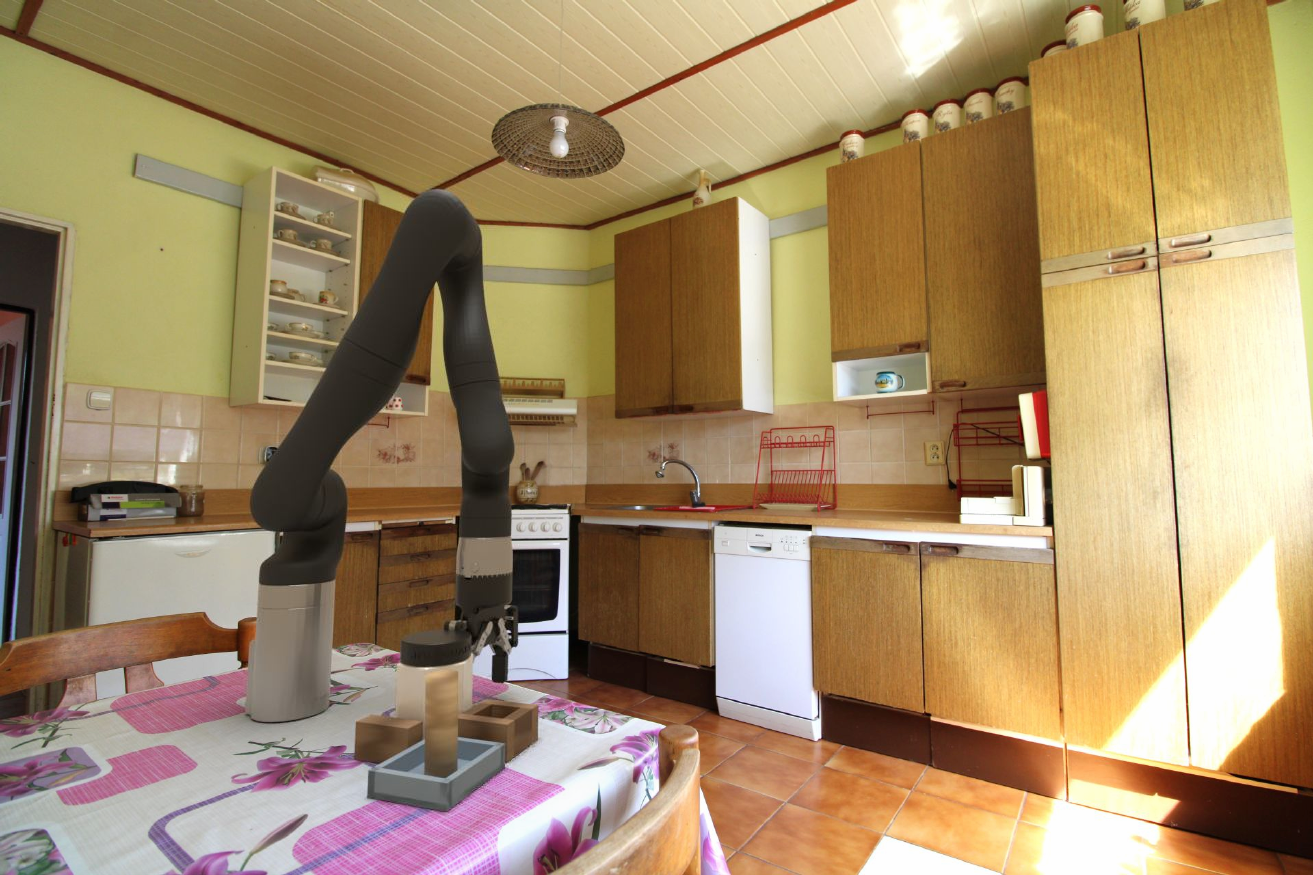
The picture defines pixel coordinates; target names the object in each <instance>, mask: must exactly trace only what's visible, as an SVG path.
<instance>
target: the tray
mask: <svg viewBox="0 0 1313 875" xmlns="http://www.w3.org/2000/svg"><path fill="white" fill-rule="evenodd" d="M424 758H425V739H424V740H422V741H421V742H419V743H417V744H415V745H413V746H411V747H410V748H408V749H406V750H404V751H402V752H401V753H399V754H397V755H395V756H393V757H391V758H390V759H388V760H386V761H384V762H382V763H378V764H377V765H375V766H374V767H371V768H370V769H368V771H367V787H366V788H367V792H366V793H367V794H366V798H369V799H373V800H378V801H384V802H390V803H396V804H402V805H406V806H413V807H418V808H424V809H428V810H434V811H439V812H446V813H447V812H448V811H449V810H451V809H452V808H454V807H455V806H456V805H458V804H459V803H460V802H462V801H463V800H464V799H466V798H467V797H468V796H469V795H471V794H472V793H474V791H476V790H478V789H479V788H481V786H483V785H484V784H485V783H487V782H488V781H489V780H491V779H492V778H493V777H495V776H496V775H497V774H499V773H500V772H501V771H503V770H505V768H506V763H505V743H498V742H490V741H483V740H476V739H469V738H461V737H458V769H457V771H456V772H454V773H453V774H451V775H450V776H448V777H447V778H439V777H433V776H427V775H424Z"/></svg>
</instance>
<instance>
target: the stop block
mask: <svg viewBox="0 0 1313 875" xmlns="http://www.w3.org/2000/svg"><path fill="white" fill-rule="evenodd" d="M354 728H355V732H354V734H355V735H354V751H353V752H354V757H353V760H358V761H363V762H369V763H370V762H371V763H377V764H381V763H382V762H384V761H386V760H388V759H390V758H391V757H393V756H395V755H397V754H399V753H401V752H402V751H404V750H406V749H408V748H410V747H411V746H413V745H415V744H417V743H419V742H421V741H422V732H423V721H417V720H410V719H402V718H395V716H386V715H378V714H370V715H367V716H365V717H363V718H361V719H358V720H356V721H355V727H354Z"/></svg>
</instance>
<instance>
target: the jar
mask: <svg viewBox="0 0 1313 875" xmlns="http://www.w3.org/2000/svg"><path fill="white" fill-rule="evenodd" d="M471 644H472V643H471V634H470V633H469V632H467V631H463V630H451V629H444V628H442V629H441V628H440V629H430V630H423V631H422V630H421V631H417V632H412V633H409V634H407V635H405V636H403V637H402V638H401V639H400V654H399V657H400V658H399V660H400V662H398V663H397V664H396V679H395V681H396V682H395V683H396V684H395V686H396V687H395V709H394V710H395V713H394V718H402V719H410V720H417V721H423V732H422V740H424V739H425V685H426V675H427V674H428V673H431V672H434V671H439V670H455V671H458V715H459V714H461V713H463V712H465V711H467V710H469V709H470V708H472V707H473V676H474V673H473V671H474V663H473V654H472V653H471V649H472V648H471V647H472V646H471Z"/></svg>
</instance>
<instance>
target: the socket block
mask: <svg viewBox="0 0 1313 875" xmlns="http://www.w3.org/2000/svg"><path fill="white" fill-rule="evenodd" d="M539 708H540V707H539V704H533V703H523V702H517V701H516V702H515V701H507V700H498V699H490V698H487V699H486V700H484V701H482V702H479V703H478V704H476V705H475V706H472V708H470V709H469V710H467V711H465V712H463V713H461V714H459V715H458V737H461V738H469V739H476V740H483V741H490V742H498V743H505V764H508V763H509V762H510V761H511V760H513V759H514V758H515V757H517V756H518V755H519V754H521V753H522V752H524V751H525V750H526V749H528V748H529V747H530V746H531V745H533V744H534V743H535V742H537V741H538V740H539Z"/></svg>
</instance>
